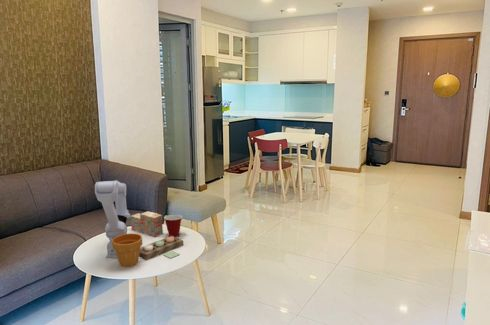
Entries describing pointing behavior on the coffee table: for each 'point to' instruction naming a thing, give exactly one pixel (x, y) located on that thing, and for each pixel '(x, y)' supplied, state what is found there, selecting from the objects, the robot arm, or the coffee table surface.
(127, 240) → the flower pot
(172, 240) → the terracotta button
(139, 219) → the stack of blocks
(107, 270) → the coffee table surface
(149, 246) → the cream button
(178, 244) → the wooden compartment tray
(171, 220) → the plastic cup
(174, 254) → the colour card
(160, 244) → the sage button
